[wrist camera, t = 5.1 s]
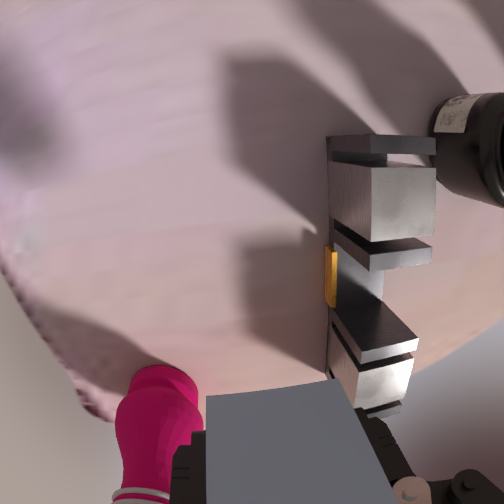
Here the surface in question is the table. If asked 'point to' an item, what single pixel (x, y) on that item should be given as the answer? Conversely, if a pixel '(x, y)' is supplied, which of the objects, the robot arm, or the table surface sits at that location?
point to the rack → (373, 262)
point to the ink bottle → (471, 146)
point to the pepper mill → (154, 432)
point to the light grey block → (291, 449)
